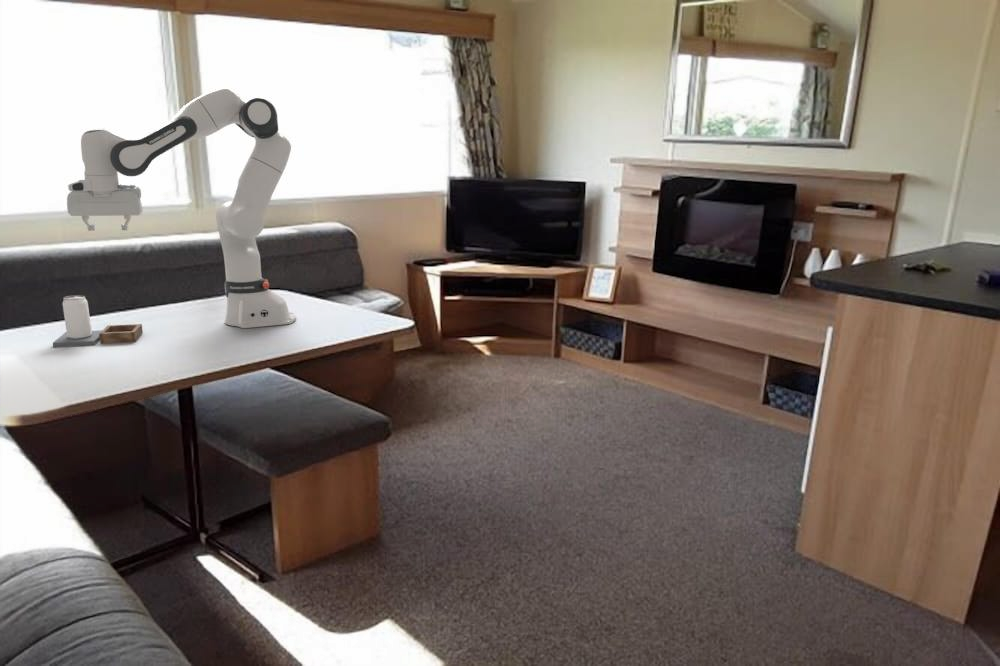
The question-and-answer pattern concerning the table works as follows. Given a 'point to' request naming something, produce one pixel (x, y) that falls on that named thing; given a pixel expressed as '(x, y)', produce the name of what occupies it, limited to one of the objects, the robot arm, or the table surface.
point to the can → (77, 317)
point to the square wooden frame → (121, 333)
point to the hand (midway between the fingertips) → (108, 230)
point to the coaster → (77, 340)
